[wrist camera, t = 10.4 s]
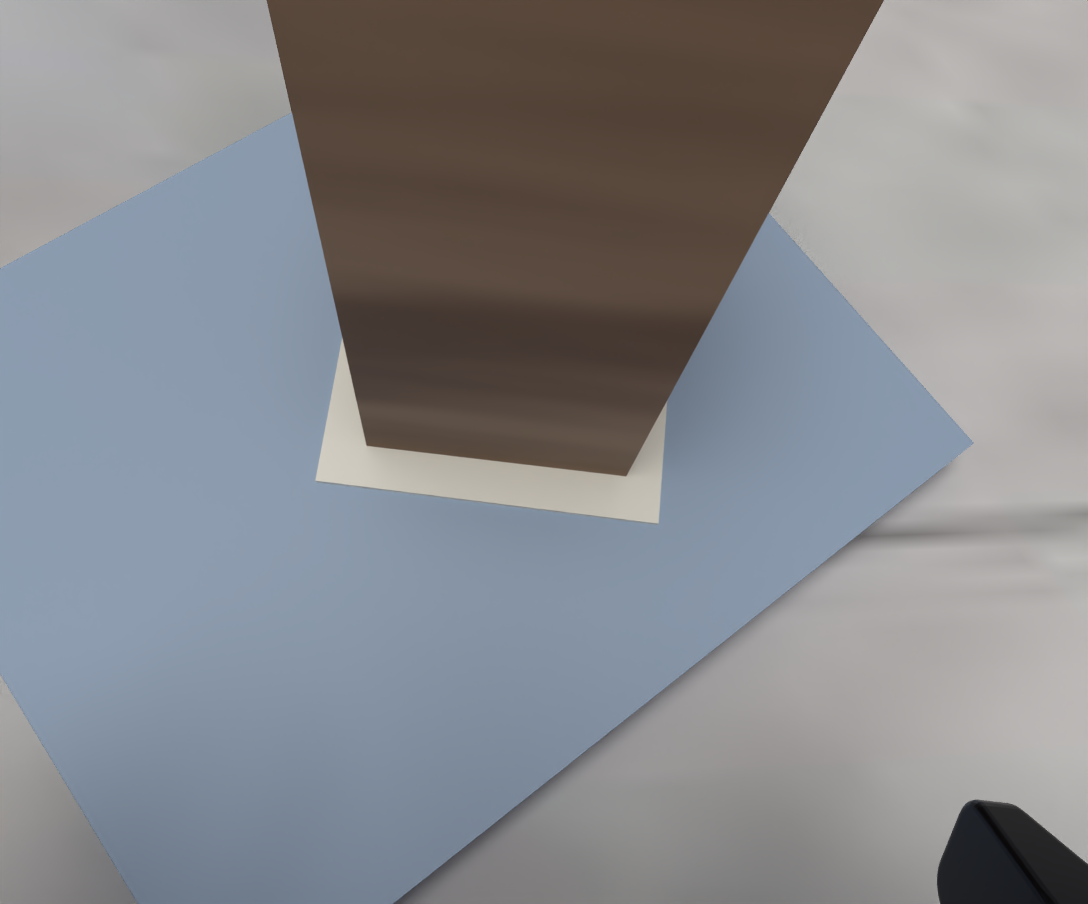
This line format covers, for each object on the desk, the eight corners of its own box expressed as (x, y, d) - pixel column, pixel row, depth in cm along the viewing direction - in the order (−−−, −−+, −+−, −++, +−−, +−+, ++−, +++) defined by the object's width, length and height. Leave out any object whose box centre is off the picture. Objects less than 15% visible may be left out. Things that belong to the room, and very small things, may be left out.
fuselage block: (626, 476, 18) (949, -121, 7) (366, 445, 18) (215, -232, 6) (642, 250, 20) (927, -567, 8) (402, 218, 20) (336, -670, 8)
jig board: (946, 461, 20) (1050, 390, 17) (235, 1025, 16) (178, 1084, 13) (551, 11, 23) (569, -130, 20) (-146, 392, 19) (-281, 299, 15)
